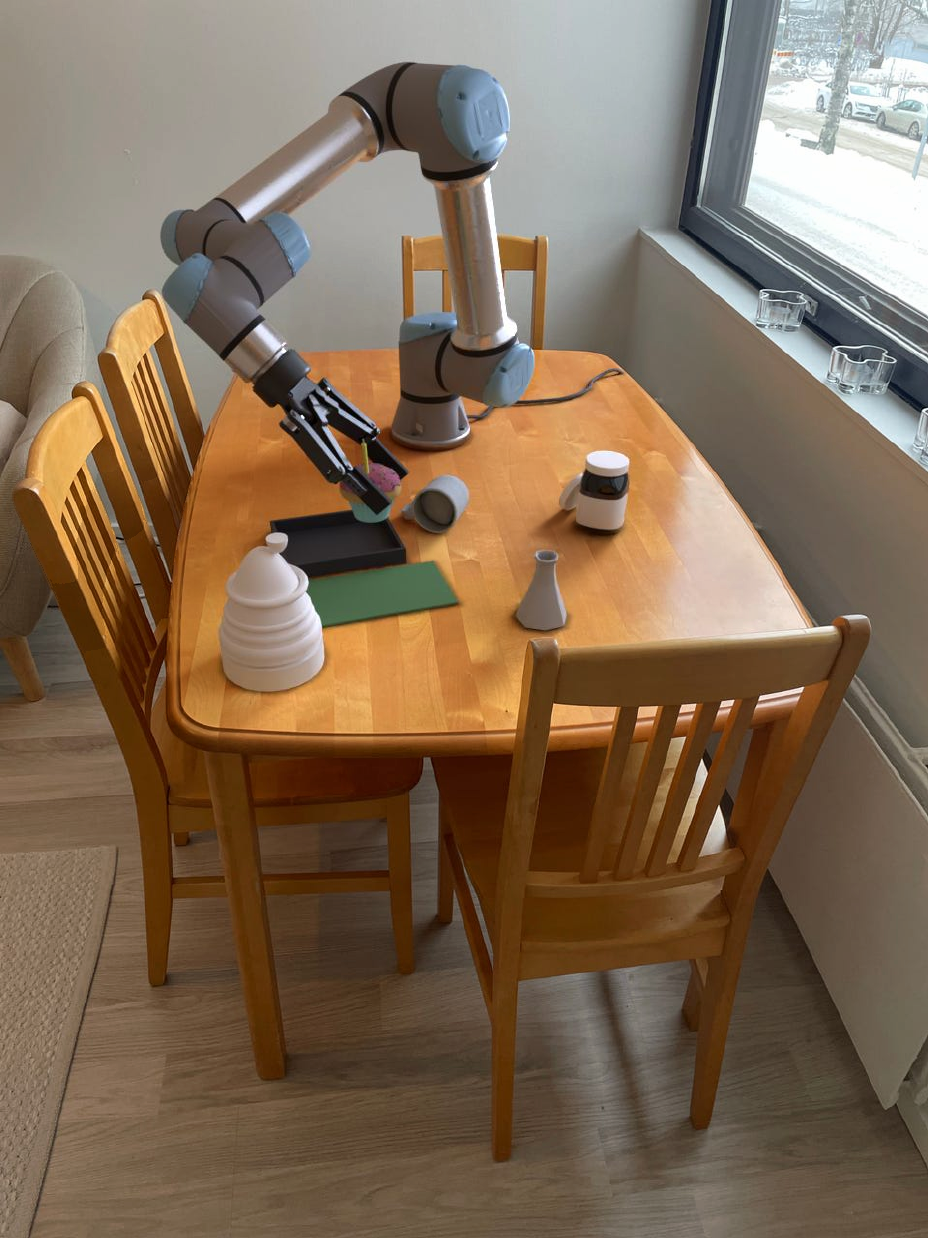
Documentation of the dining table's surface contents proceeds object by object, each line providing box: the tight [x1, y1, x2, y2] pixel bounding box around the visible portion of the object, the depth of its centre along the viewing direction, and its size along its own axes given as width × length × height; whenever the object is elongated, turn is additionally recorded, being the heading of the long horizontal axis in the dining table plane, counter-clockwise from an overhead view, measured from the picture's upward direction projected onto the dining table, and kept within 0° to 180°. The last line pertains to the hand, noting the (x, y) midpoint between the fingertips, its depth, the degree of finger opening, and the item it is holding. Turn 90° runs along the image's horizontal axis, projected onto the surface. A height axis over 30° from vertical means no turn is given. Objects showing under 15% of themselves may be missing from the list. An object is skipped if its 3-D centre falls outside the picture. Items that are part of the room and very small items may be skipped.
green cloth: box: [306, 560, 459, 628], centre depth 131 cm, size 20×12×1 cm, turn 109°
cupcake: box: [338, 439, 403, 523], centre depth 123 cm, size 9×8×12 cm
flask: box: [515, 549, 568, 631], centre depth 125 cm, size 7×7×10 cm
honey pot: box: [218, 533, 325, 693], centre depth 113 cm, size 13×13×18 cm
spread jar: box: [558, 450, 631, 536], centre depth 148 cm, size 12×11×12 cm
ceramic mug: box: [401, 474, 470, 534], centre depth 148 cm, size 11×8×8 cm
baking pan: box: [269, 509, 407, 579], centre depth 141 cm, size 18×15×2 cm
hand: (393, 492), depth 123 cm, fingers closed on cupcake, 9 cm apart
